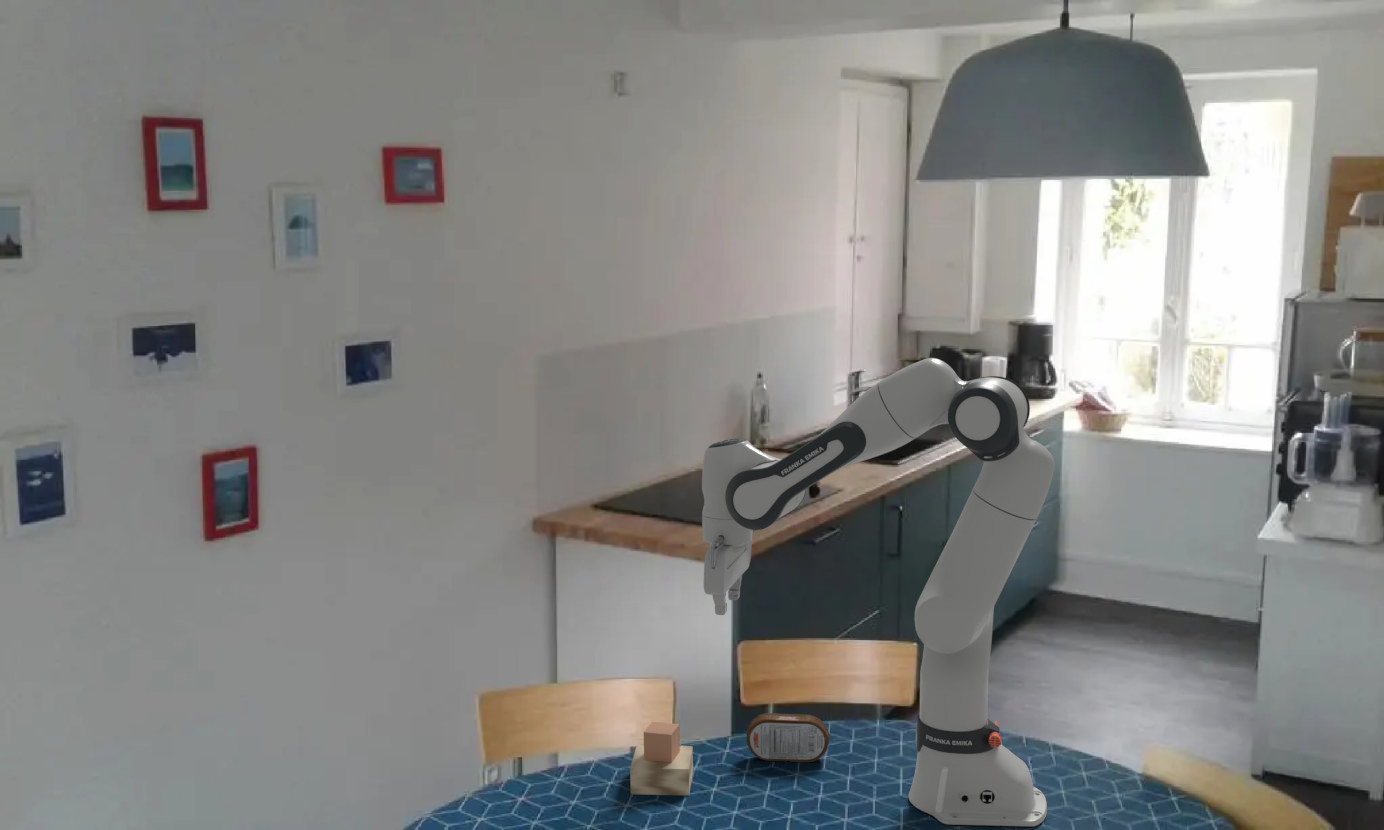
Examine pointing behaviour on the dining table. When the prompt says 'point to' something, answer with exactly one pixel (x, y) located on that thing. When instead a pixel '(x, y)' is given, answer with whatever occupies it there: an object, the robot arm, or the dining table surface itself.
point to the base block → (662, 774)
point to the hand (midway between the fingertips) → (727, 606)
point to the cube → (661, 742)
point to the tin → (787, 737)
